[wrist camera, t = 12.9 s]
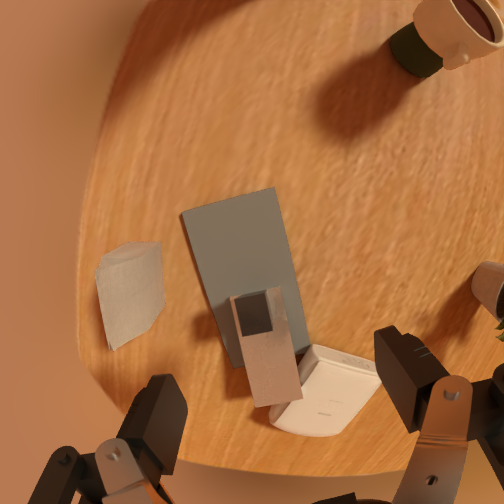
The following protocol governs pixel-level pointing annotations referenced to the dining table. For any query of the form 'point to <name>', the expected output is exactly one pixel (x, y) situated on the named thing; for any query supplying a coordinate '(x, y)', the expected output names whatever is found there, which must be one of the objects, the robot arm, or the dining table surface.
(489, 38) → the character mug
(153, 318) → the tea bag
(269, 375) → the grey l-shaped piece
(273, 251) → the mat
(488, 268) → the house plant
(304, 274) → the dining table surface
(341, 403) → the photo printer
